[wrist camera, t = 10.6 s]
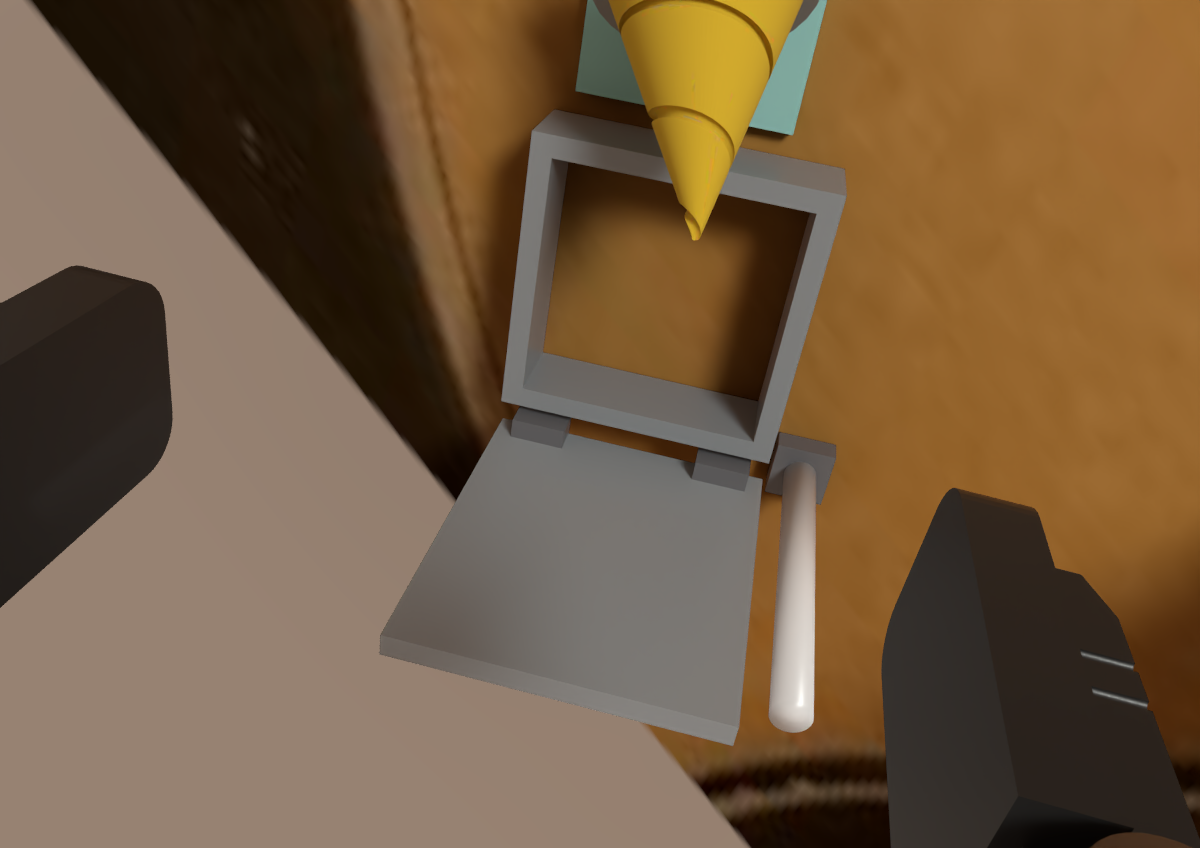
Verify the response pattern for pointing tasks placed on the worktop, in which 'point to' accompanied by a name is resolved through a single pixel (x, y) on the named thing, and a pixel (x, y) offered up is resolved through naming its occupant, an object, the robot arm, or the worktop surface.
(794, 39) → the mat
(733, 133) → the drill bit
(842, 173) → the case
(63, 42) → the worktop surface
